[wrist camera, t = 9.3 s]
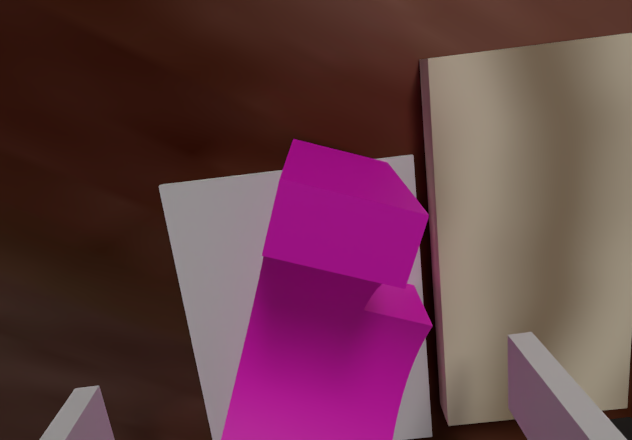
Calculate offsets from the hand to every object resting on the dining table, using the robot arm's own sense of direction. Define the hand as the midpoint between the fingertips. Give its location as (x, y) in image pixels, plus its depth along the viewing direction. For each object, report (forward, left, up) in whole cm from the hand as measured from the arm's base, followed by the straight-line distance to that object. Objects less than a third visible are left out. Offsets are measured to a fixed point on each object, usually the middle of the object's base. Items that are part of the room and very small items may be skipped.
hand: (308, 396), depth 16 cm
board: (+9, +2, -6) cm, 11 cm away
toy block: (+1, -1, -6) cm, 6 cm away
